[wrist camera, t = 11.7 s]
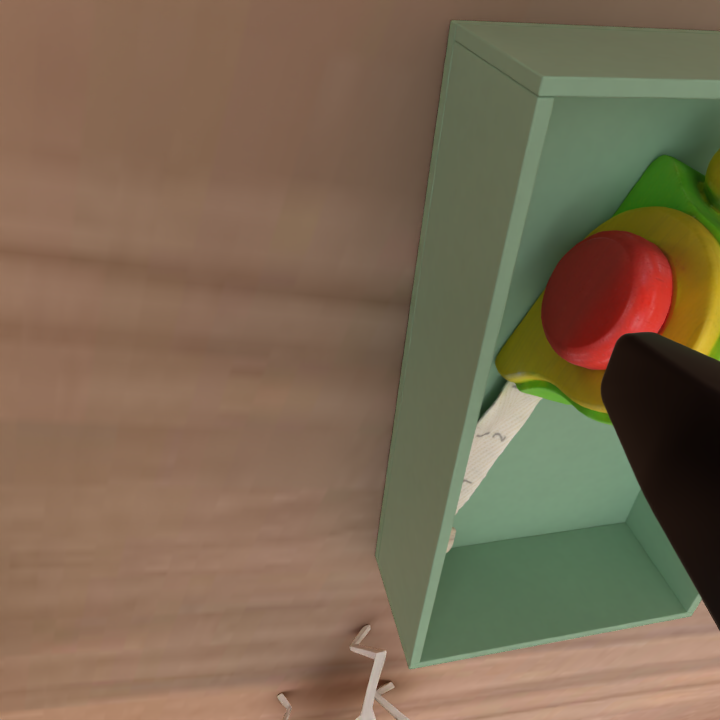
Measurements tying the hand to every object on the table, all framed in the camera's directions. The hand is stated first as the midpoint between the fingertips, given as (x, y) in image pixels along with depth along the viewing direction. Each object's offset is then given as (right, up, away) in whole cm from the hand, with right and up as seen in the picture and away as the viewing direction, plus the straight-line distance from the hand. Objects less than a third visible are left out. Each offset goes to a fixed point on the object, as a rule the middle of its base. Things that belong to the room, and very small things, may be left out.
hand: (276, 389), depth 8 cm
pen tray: (+9, +1, +17) cm, 20 cm away
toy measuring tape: (+8, +1, +17) cm, 19 cm away
